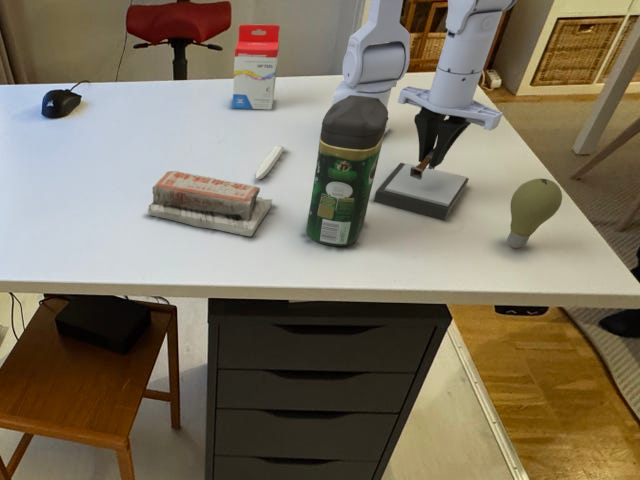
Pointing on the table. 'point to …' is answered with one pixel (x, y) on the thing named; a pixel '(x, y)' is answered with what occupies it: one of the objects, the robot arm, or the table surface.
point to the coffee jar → (346, 169)
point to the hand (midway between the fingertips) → (429, 162)
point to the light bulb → (532, 209)
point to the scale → (422, 191)
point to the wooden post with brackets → (422, 166)
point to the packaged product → (208, 203)
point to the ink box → (255, 67)
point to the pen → (269, 161)
